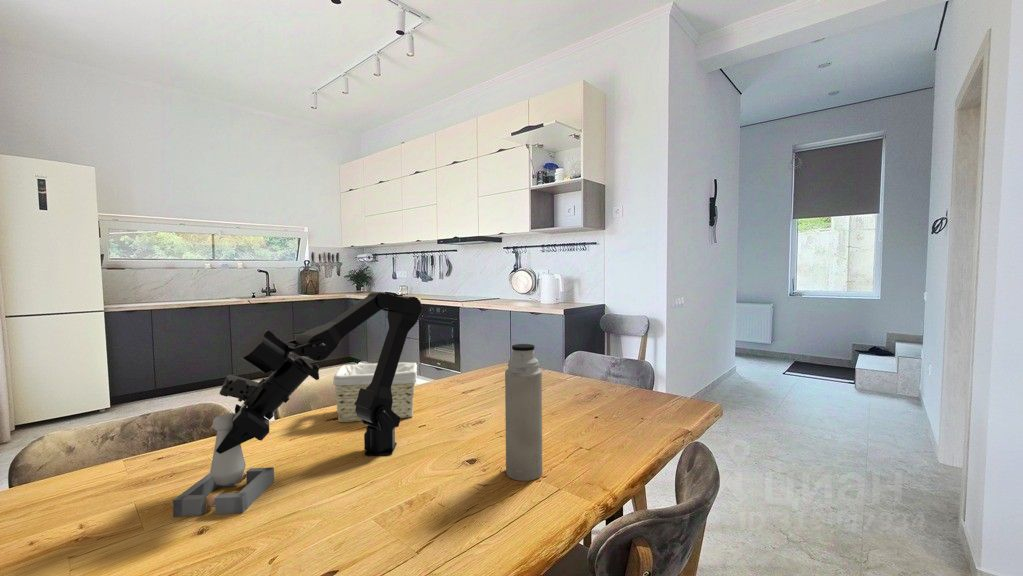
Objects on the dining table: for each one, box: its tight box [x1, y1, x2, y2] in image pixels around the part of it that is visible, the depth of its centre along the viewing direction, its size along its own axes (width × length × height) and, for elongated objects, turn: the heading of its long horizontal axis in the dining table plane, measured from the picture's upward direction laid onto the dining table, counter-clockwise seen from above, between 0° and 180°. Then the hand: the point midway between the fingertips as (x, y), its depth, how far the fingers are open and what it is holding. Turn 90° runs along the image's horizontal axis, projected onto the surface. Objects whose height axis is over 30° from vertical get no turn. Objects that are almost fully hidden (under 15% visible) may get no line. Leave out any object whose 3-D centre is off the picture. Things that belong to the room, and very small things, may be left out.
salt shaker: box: [209, 412, 246, 485], centre depth 83 cm, size 6×6×13 cm
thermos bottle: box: [504, 343, 543, 482], centre depth 92 cm, size 8×8×28 cm
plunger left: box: [206, 492, 220, 507], centre depth 79 cm, size 2×2×2 cm
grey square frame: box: [172, 466, 275, 517], centre depth 83 cm, size 12×12×3 cm
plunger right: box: [235, 471, 246, 484], centre depth 88 cm, size 2×2×2 cm
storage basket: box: [333, 361, 418, 423], centre depth 133 cm, size 24×16×15 cm
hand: (218, 448), depth 82 cm, fingers closed on salt shaker, 3 cm apart
